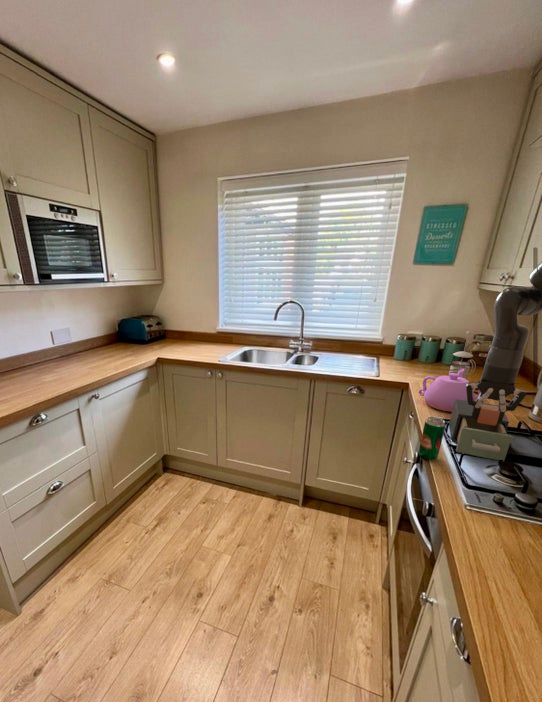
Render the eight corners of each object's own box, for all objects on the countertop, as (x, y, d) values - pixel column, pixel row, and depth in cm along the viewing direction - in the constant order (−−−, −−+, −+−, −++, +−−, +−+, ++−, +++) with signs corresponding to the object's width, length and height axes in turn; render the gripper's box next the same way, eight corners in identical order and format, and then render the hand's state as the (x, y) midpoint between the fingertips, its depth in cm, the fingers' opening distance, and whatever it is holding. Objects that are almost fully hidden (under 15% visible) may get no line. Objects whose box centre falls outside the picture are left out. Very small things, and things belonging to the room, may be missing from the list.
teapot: (485, 404, 135) (495, 372, 130) (474, 420, 120) (484, 384, 115) (426, 392, 149) (432, 362, 144) (410, 405, 135) (416, 372, 130)
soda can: (413, 453, 99) (421, 416, 95) (429, 452, 100) (438, 415, 96) (424, 461, 95) (433, 424, 90) (441, 460, 95) (451, 423, 91)
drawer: (507, 469, 89) (515, 443, 87) (457, 458, 95) (463, 434, 92) (496, 441, 104) (503, 418, 101) (453, 433, 109) (458, 412, 106)
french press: (454, 378, 169) (467, 328, 160) (476, 385, 158) (491, 332, 149) (440, 380, 166) (451, 330, 157) (461, 387, 155) (475, 334, 147)
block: (493, 420, 97) (497, 406, 95) (496, 425, 93) (500, 411, 92) (475, 417, 99) (479, 403, 97) (477, 422, 95) (481, 408, 94)
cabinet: (499, 450, 100) (509, 421, 97) (451, 441, 106) (458, 413, 103) (492, 431, 112) (500, 405, 109) (448, 424, 118) (455, 399, 115)
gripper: (532, 363, 90) (513, 420, 96) (469, 357, 96) (455, 411, 102) (540, 370, 84) (519, 430, 90) (472, 363, 90) (457, 420, 96)
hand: (485, 420), depth 96 cm, fingers closed on block, 4 cm apart
